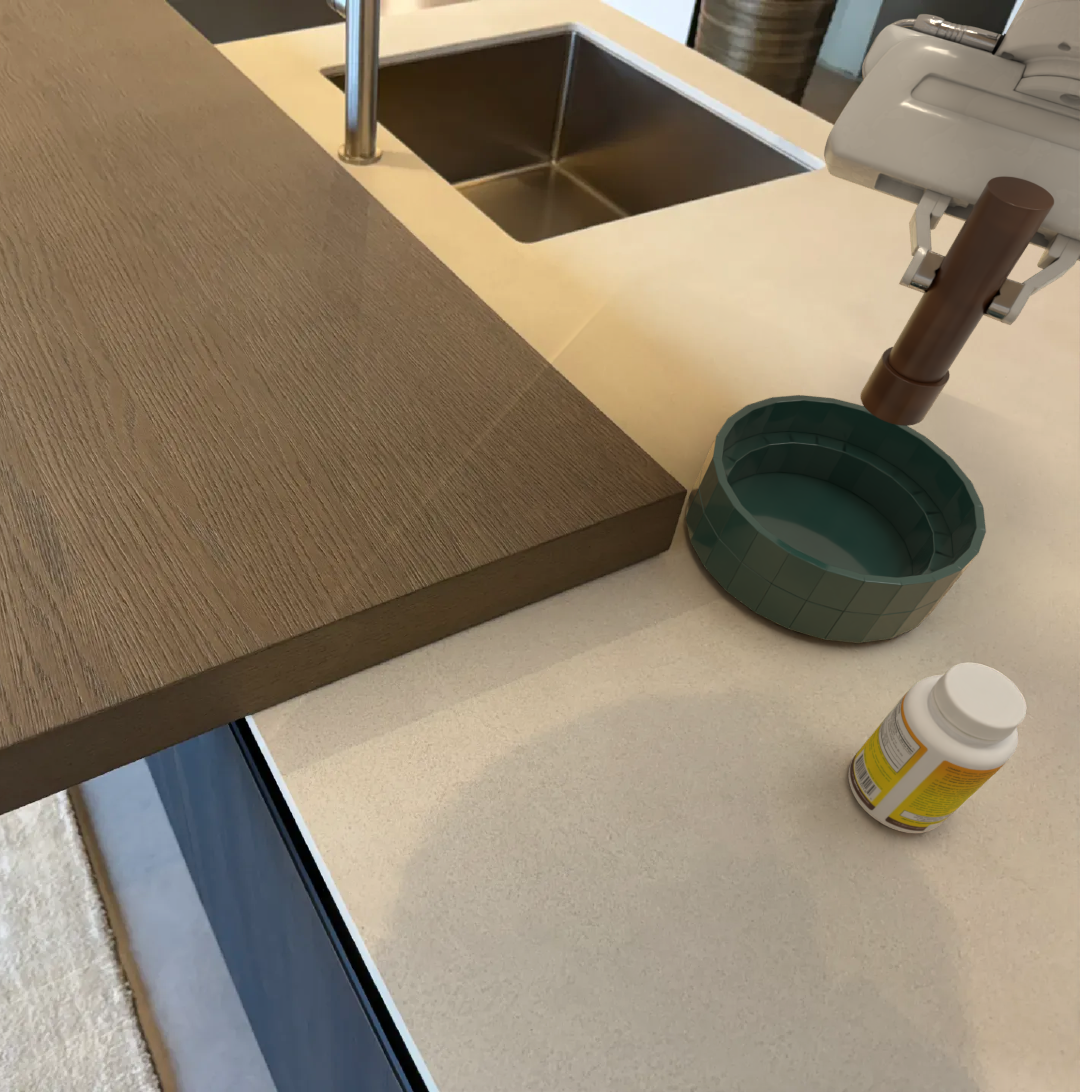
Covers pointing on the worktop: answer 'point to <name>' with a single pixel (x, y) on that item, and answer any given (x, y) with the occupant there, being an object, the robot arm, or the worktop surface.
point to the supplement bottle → (938, 747)
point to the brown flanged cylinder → (956, 300)
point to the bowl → (832, 518)
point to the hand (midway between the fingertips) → (955, 302)
